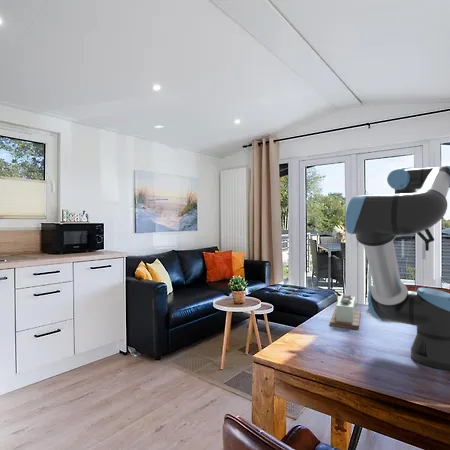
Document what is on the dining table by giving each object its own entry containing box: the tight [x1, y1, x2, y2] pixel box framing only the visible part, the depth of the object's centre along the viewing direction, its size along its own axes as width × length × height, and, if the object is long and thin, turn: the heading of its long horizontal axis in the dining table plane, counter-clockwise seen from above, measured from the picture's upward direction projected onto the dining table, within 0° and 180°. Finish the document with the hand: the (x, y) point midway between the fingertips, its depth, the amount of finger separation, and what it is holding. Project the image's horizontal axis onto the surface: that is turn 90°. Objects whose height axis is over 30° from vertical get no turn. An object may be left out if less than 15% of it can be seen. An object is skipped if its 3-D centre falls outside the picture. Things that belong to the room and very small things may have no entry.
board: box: [329, 293, 362, 330], centre depth 153 cm, size 25×12×11 cm, turn 155°
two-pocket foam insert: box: [336, 295, 356, 323], centre depth 154 cm, size 21×7×7 cm, turn 155°
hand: (404, 258), depth 132 cm, fingers open, 13 cm apart
